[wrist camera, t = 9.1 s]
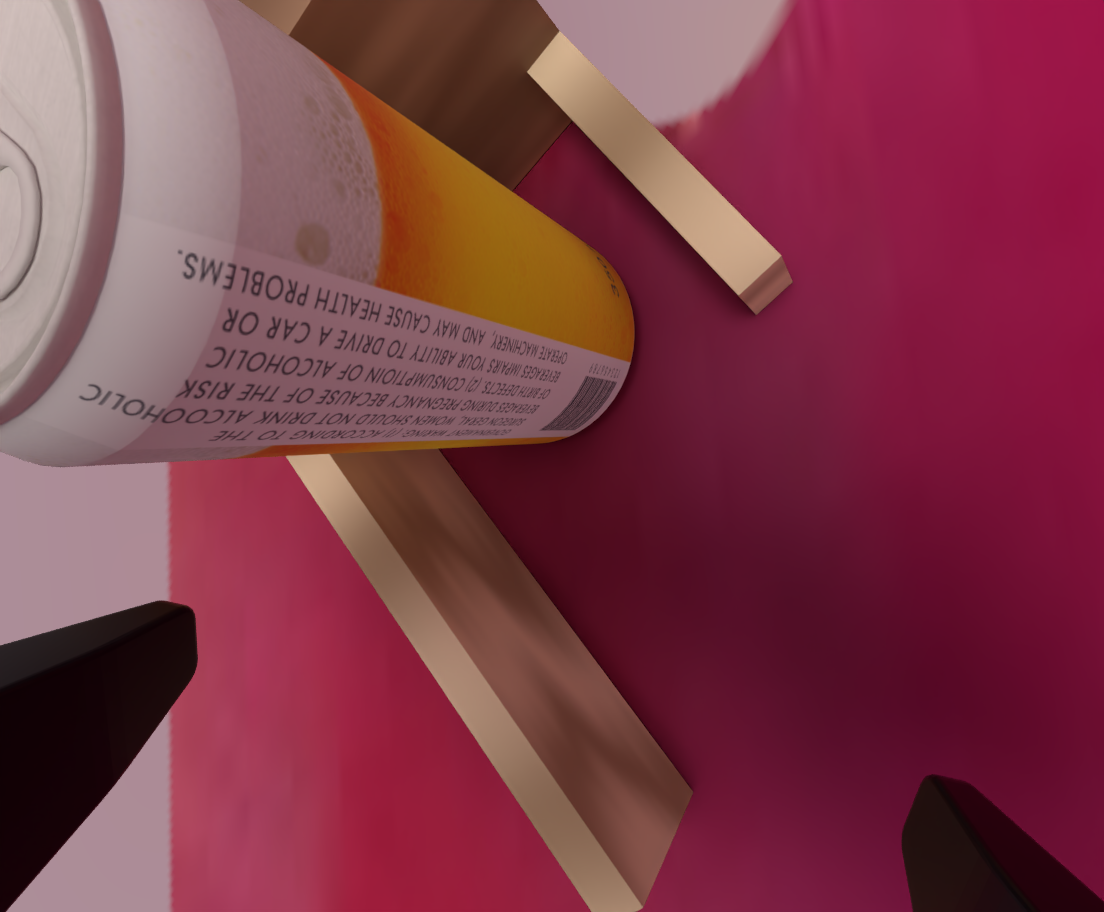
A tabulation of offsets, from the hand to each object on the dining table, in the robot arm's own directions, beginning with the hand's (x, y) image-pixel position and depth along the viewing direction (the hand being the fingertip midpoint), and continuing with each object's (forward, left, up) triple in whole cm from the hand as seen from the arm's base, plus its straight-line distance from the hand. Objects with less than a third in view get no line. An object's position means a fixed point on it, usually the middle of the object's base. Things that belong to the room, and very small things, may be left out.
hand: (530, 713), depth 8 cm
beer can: (+3, -7, -12) cm, 14 cm away
